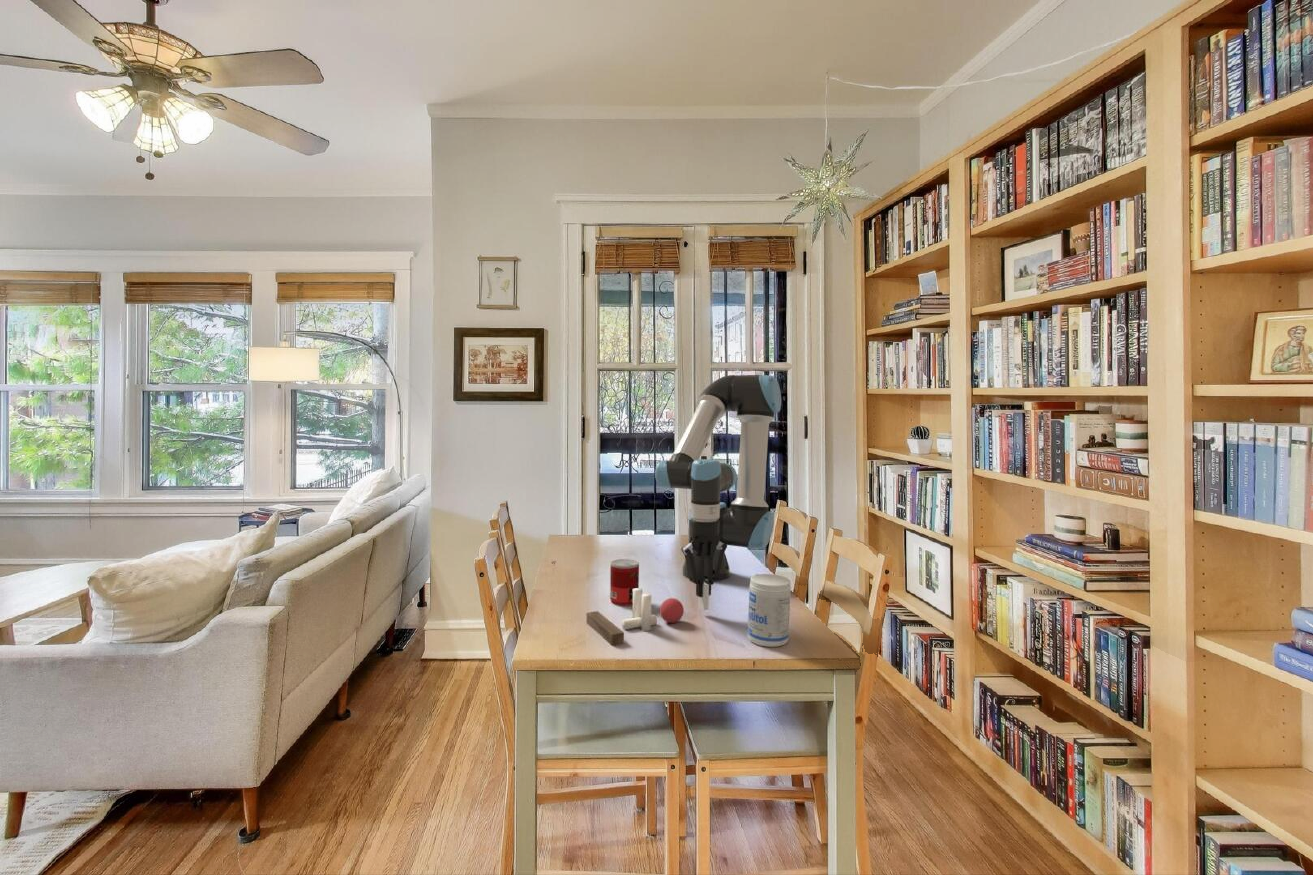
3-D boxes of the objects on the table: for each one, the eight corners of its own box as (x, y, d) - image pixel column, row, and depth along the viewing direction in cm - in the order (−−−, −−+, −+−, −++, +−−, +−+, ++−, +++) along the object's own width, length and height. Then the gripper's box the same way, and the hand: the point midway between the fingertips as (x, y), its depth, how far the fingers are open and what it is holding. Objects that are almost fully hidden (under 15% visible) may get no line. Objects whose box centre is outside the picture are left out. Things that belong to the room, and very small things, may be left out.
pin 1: (639, 620, 159) (639, 587, 158) (643, 623, 156) (644, 590, 156) (630, 621, 157) (631, 588, 157) (634, 624, 155) (635, 591, 155)
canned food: (635, 606, 169) (635, 567, 168) (606, 604, 170) (607, 565, 170) (641, 598, 176) (641, 559, 176) (614, 595, 178) (614, 558, 177)
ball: (651, 608, 158) (664, 621, 161) (663, 617, 153) (677, 631, 156) (666, 590, 160) (679, 603, 162) (679, 598, 155) (692, 612, 157)
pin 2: (648, 626, 154) (648, 593, 154) (652, 630, 152) (653, 596, 151) (639, 628, 153) (639, 594, 152) (643, 631, 151) (644, 597, 150)
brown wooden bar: (597, 620, 158) (597, 611, 158) (623, 643, 144) (623, 632, 144) (586, 622, 156) (586, 612, 156) (611, 645, 142) (612, 634, 142)
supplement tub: (739, 640, 146) (741, 579, 145) (760, 629, 154) (762, 571, 153) (776, 652, 140) (778, 587, 139) (796, 639, 147) (798, 578, 146)
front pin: (652, 613, 157) (622, 618, 153) (657, 616, 155) (626, 621, 151) (652, 622, 157) (621, 627, 154) (656, 625, 155) (625, 631, 151)
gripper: (690, 523, 155) (689, 616, 157) (734, 519, 161) (732, 608, 163) (676, 518, 162) (674, 607, 163) (718, 514, 168) (716, 600, 169)
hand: (703, 608), depth 163 cm, fingers closed
